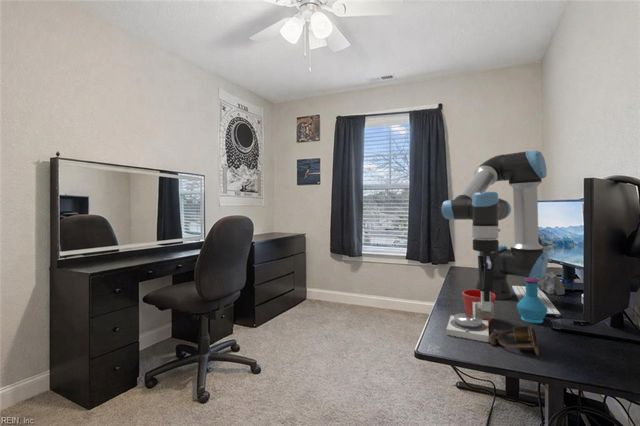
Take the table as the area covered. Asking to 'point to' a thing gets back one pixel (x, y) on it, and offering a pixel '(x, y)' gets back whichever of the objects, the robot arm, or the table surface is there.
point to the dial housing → (468, 331)
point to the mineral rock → (551, 284)
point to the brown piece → (518, 338)
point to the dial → (474, 316)
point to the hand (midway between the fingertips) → (486, 310)
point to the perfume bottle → (532, 303)
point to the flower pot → (474, 300)
